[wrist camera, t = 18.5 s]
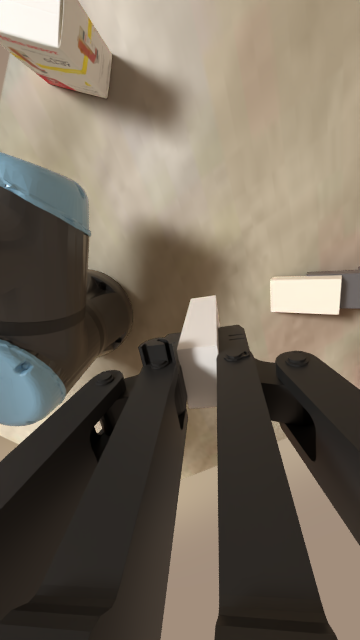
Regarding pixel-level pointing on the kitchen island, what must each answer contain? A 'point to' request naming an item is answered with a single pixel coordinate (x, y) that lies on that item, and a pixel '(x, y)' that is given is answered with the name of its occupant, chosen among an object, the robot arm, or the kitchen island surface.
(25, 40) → the ink box
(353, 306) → the domino
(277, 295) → the domino ivory
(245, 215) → the kitchen island surface
